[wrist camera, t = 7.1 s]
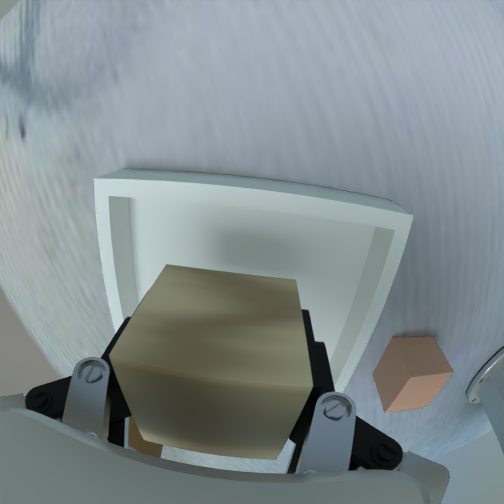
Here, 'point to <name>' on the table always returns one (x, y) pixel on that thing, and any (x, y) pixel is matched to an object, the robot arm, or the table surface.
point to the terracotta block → (411, 373)
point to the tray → (255, 245)
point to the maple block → (216, 362)
